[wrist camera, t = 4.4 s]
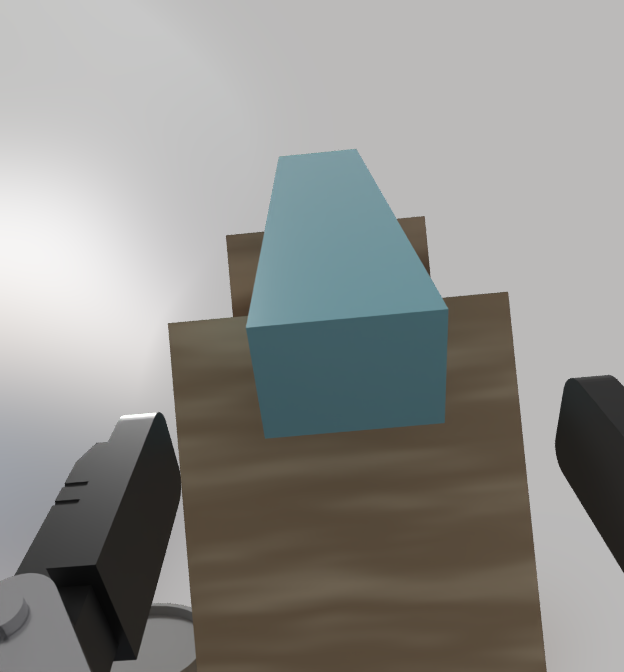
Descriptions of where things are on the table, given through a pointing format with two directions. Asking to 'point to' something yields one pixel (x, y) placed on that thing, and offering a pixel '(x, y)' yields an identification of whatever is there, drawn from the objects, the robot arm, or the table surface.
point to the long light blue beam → (342, 308)
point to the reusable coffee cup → (164, 642)
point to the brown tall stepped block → (357, 511)
